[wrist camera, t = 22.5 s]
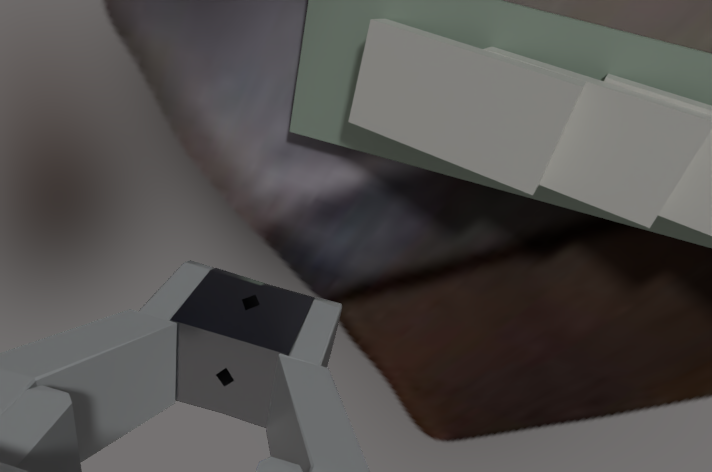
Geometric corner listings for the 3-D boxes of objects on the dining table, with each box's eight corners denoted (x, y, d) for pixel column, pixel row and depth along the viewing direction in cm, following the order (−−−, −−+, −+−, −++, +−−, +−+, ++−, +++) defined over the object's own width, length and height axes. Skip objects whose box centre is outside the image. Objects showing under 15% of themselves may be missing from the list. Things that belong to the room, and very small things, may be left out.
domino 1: (348, 121, 28) (532, 195, 25) (370, 19, 26) (582, 86, 22) (362, 116, 30) (539, 185, 26) (385, 18, 27) (586, 81, 24)
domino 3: (557, 176, 28) (777, 261, 24) (605, 77, 25) (862, 157, 21) (562, 168, 29) (770, 247, 26) (608, 73, 26) (849, 148, 23)
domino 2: (449, 149, 28) (649, 228, 25) (483, 48, 25) (715, 122, 22) (458, 142, 30) (649, 215, 26) (491, 46, 27) (711, 115, 23)
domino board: (294, 126, 32) (289, 131, 31) (320, -46, 27) (315, -46, 26) (790, 263, 30) (799, 272, 29) (919, 106, 25) (936, 111, 24)
